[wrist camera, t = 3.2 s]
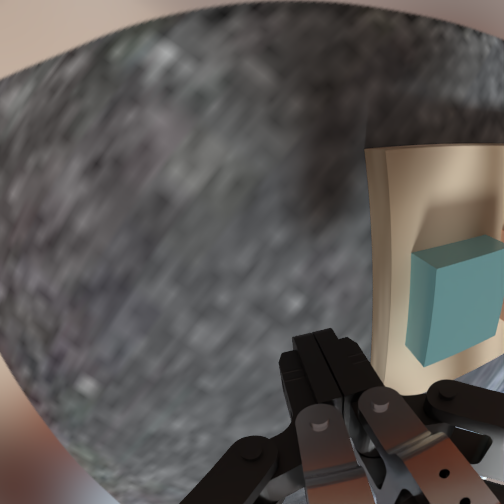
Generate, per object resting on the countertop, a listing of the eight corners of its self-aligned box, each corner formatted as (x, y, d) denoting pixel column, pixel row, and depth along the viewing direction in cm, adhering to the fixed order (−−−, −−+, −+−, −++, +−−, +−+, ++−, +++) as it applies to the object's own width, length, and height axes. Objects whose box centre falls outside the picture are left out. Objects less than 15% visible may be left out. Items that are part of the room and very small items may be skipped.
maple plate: (526, 144, 13) (548, 147, 12) (507, 329, 18) (522, 341, 16) (364, 149, 13) (385, 150, 11) (368, 387, 18) (380, 408, 16)
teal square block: (485, 234, 13) (511, 246, 11) (474, 318, 14) (495, 335, 13) (411, 252, 13) (436, 269, 11) (404, 344, 14) (423, 367, 12)
